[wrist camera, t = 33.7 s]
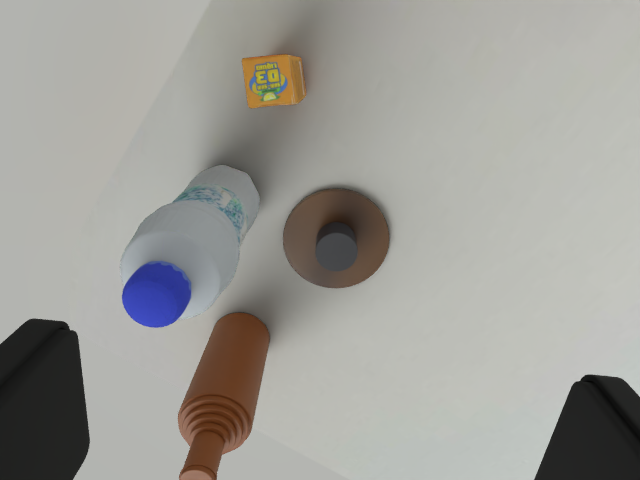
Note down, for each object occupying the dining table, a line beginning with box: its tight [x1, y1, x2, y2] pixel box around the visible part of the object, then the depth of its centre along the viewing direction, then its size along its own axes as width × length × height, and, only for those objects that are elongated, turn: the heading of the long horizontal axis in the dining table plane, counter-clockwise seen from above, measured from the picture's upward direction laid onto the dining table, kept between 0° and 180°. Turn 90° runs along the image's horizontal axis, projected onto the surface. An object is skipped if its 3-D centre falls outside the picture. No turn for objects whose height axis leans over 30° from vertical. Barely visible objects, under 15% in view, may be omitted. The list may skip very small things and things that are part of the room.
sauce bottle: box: [178, 313, 270, 480], centre depth 40 cm, size 6×6×18 cm
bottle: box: [120, 165, 260, 328], centre depth 33 cm, size 7×7×20 cm
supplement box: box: [242, 54, 306, 109], centre depth 33 cm, size 3×3×10 cm
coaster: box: [283, 189, 389, 288], centre depth 43 cm, size 10×10×1 cm
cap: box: [315, 222, 358, 271], centre depth 41 cm, size 4×4×3 cm
